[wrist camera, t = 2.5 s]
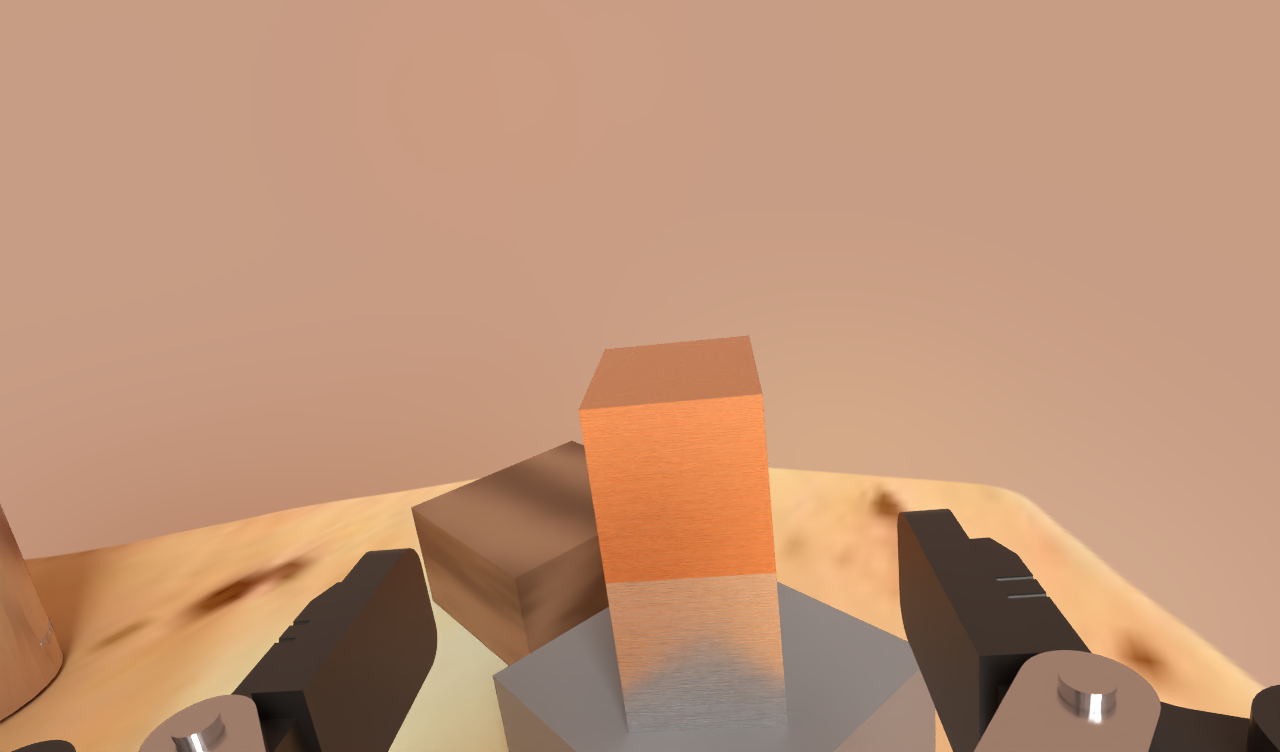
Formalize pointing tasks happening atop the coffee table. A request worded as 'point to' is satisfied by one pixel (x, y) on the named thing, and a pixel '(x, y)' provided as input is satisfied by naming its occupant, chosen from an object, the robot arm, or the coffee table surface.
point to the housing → (687, 534)
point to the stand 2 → (808, 748)
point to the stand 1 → (517, 552)
